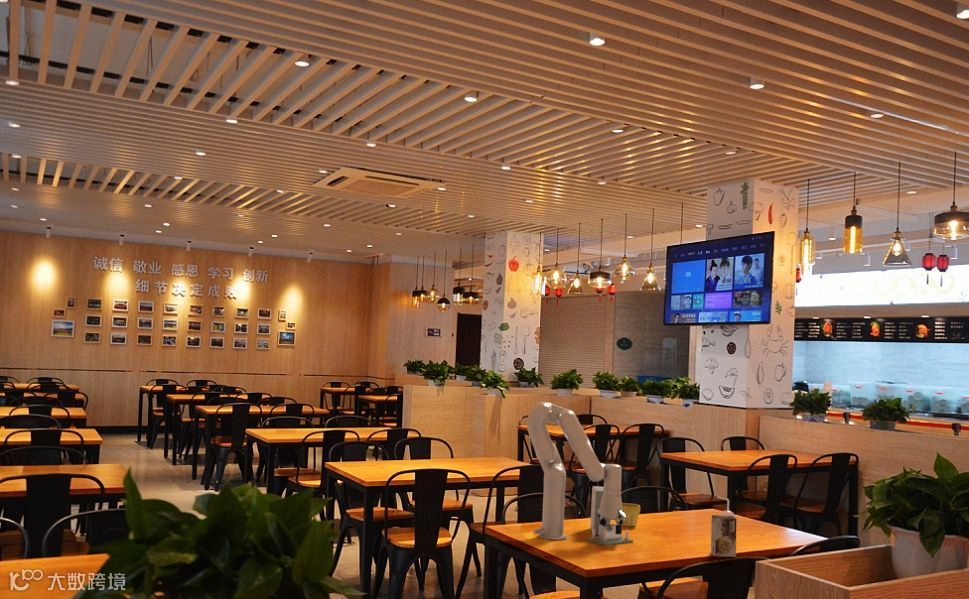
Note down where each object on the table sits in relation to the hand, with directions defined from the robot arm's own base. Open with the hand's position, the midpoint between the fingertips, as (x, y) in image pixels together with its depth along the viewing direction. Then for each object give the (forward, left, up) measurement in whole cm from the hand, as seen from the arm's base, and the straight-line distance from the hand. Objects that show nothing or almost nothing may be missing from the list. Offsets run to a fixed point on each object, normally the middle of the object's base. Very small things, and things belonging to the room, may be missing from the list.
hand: (610, 531), depth 377 cm
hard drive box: (+10, +17, -4) cm, 20 cm away
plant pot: (+35, +23, -4) cm, 42 cm away
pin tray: (0, 0, -4) cm, 4 cm away
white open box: (0, 0, -3) cm, 3 cm away
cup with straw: (+53, -21, -4) cm, 57 cm away
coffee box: (+28, -39, -4) cm, 48 cm away
